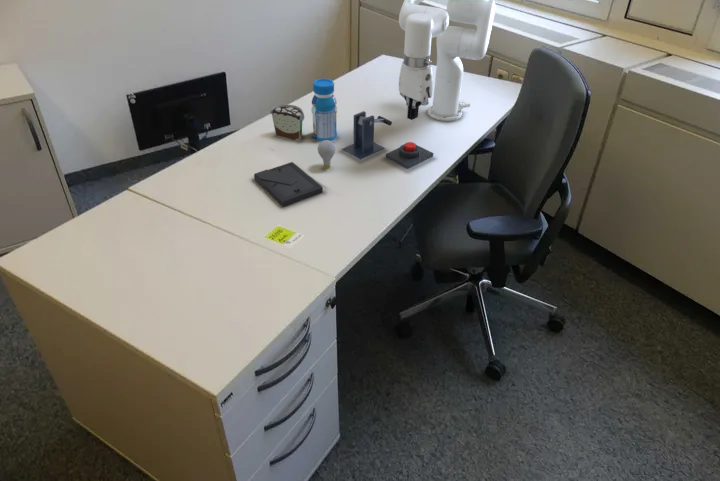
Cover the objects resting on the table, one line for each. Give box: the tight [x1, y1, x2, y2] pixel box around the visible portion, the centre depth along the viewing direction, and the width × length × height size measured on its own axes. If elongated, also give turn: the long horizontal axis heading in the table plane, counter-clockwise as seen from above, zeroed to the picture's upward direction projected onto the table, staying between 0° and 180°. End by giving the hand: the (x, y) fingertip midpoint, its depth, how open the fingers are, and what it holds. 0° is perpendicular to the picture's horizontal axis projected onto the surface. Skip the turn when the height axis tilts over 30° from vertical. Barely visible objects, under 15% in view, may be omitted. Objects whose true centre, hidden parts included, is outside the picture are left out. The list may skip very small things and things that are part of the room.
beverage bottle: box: [311, 78, 338, 142], centre depth 181 cm, size 8×8×20 cm
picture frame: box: [253, 161, 324, 208], centre depth 162 cm, size 13×2×18 cm
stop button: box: [404, 141, 417, 152], centre depth 173 cm, size 4×4×2 cm
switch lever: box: [358, 115, 393, 127], centre depth 176 cm, size 12×6×2 cm, turn 134°
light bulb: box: [317, 140, 337, 170], centre depth 167 cm, size 5×5×10 cm
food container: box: [269, 104, 305, 141], centre depth 185 cm, size 12×6×10 cm, turn 65°
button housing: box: [384, 143, 434, 170], centre depth 175 cm, size 12×10×4 cm
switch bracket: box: [341, 110, 385, 160], centre depth 176 cm, size 11×9×13 cm
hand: (412, 117), depth 168 cm, fingers closed
